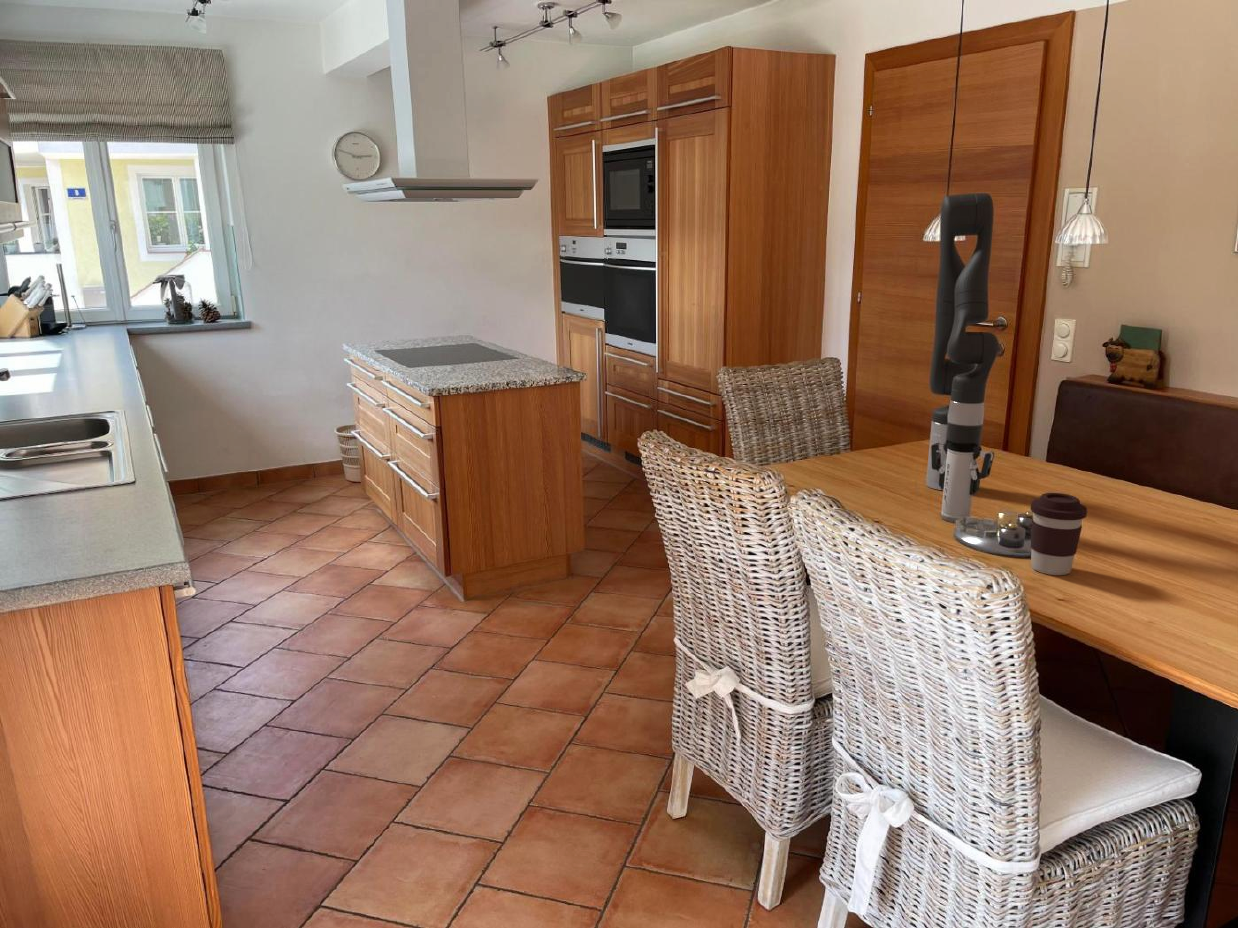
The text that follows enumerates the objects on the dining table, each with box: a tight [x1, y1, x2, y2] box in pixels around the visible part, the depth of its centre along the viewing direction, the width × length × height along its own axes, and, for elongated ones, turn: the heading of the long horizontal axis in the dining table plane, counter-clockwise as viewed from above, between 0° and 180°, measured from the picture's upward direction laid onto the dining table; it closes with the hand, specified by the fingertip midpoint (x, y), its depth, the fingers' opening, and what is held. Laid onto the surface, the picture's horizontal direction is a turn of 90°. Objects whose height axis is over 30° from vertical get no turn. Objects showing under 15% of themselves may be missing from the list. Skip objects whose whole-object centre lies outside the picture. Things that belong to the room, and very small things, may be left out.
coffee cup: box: [1030, 492, 1088, 576], centre depth 177 cm, size 10×10×15 cm
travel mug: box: [940, 441, 976, 524], centre depth 207 cm, size 6×7×20 cm
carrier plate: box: [953, 509, 1033, 559], centre depth 195 cm, size 21×21×6 cm
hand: (958, 491), depth 208 cm, fingers closed on travel mug, 6 cm apart
